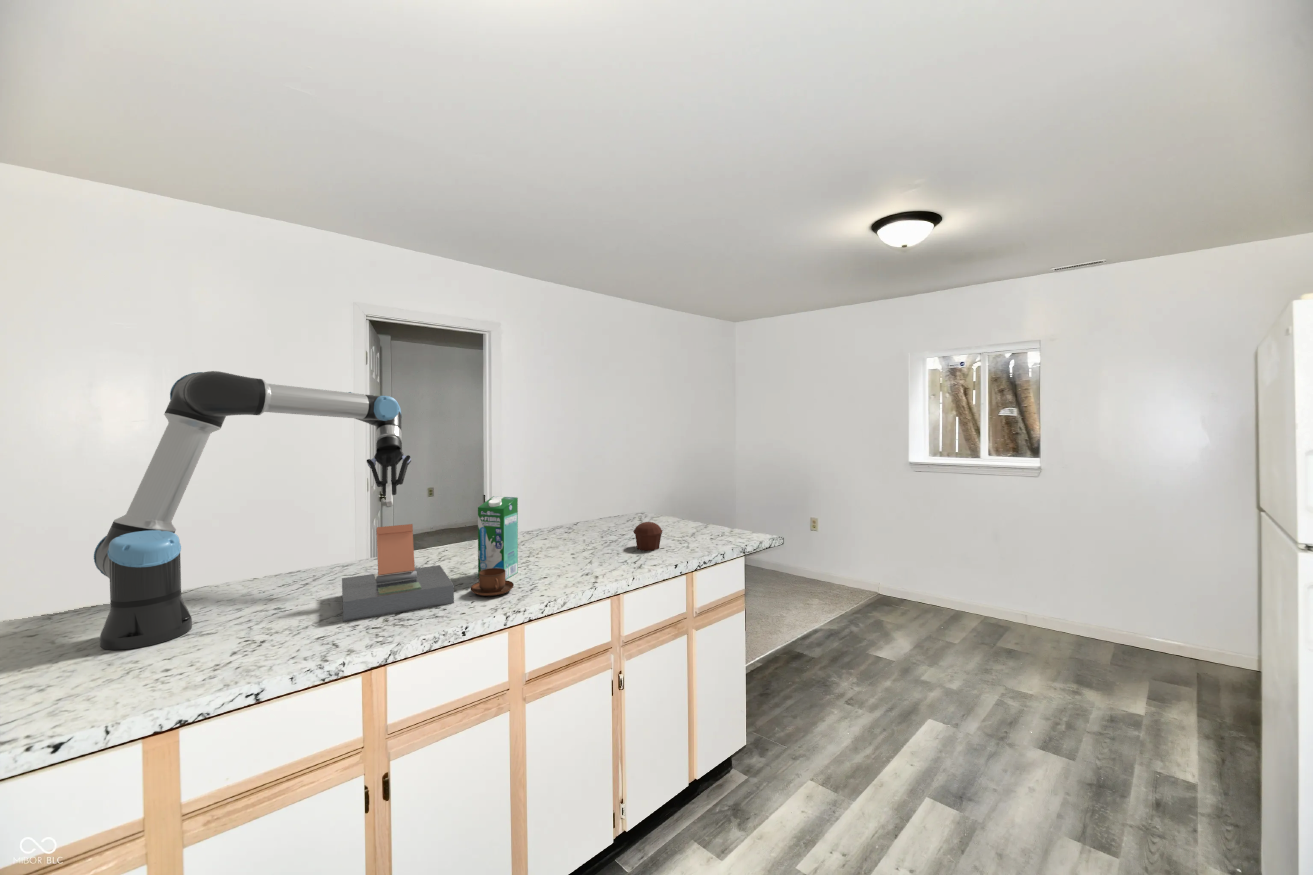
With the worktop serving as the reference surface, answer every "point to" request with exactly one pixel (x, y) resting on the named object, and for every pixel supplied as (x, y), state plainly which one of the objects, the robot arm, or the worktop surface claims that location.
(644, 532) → the muffin
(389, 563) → the orange thin slab
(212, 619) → the worktop surface
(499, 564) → the milk carton
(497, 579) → the cup and saucer
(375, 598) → the box
